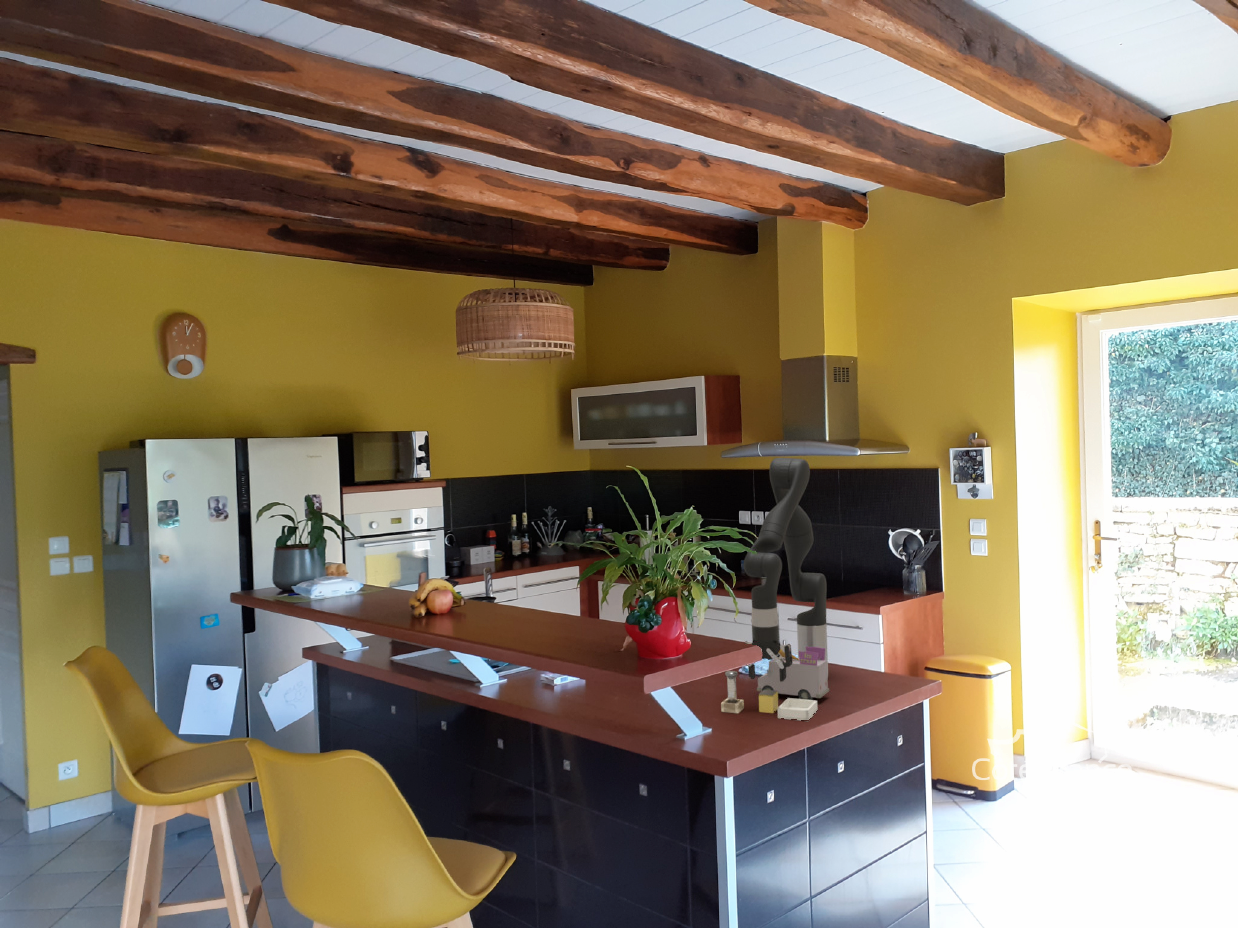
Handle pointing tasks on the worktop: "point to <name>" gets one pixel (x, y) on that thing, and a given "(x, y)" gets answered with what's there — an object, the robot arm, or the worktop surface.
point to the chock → (768, 701)
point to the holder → (732, 706)
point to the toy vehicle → (799, 675)
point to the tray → (797, 709)
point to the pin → (731, 686)
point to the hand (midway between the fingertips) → (767, 679)
